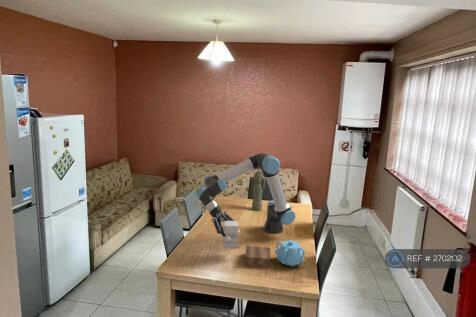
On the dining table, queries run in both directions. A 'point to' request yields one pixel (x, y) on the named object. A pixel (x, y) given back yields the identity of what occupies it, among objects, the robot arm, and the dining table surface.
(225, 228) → the supplement box
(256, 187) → the thermos
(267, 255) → the walnut block
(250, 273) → the dining table surface
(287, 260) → the decorative pot
